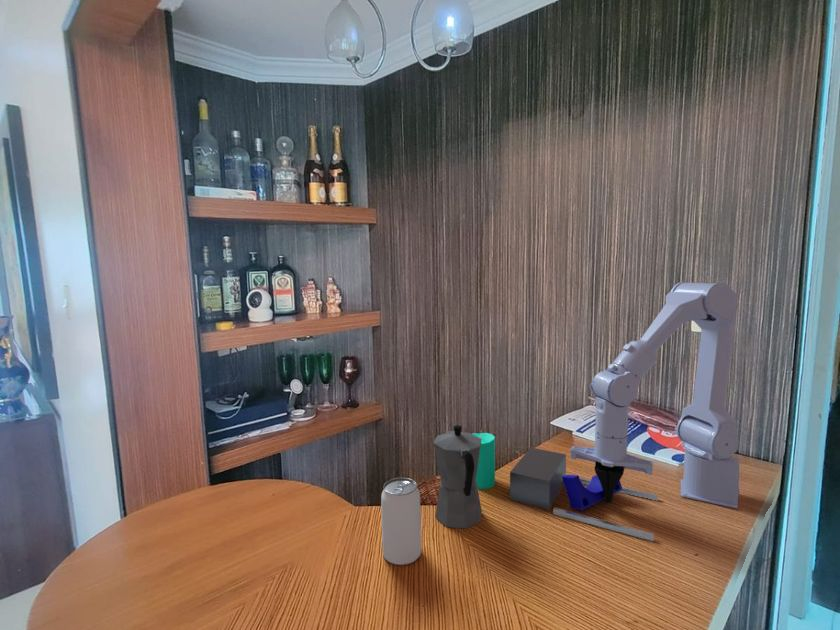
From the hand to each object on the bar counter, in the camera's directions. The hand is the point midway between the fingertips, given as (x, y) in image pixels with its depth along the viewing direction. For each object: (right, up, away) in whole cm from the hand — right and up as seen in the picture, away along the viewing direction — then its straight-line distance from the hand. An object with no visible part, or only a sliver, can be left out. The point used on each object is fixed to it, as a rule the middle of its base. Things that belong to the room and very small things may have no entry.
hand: (608, 500), depth 84 cm
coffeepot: (-30, -3, -2) cm, 30 cm away
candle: (-23, -1, +11) cm, 26 cm away
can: (-40, -4, -12) cm, 42 cm away
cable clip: (-2, -1, +2) cm, 3 cm away
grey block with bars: (-5, -1, +3) cm, 6 cm away
